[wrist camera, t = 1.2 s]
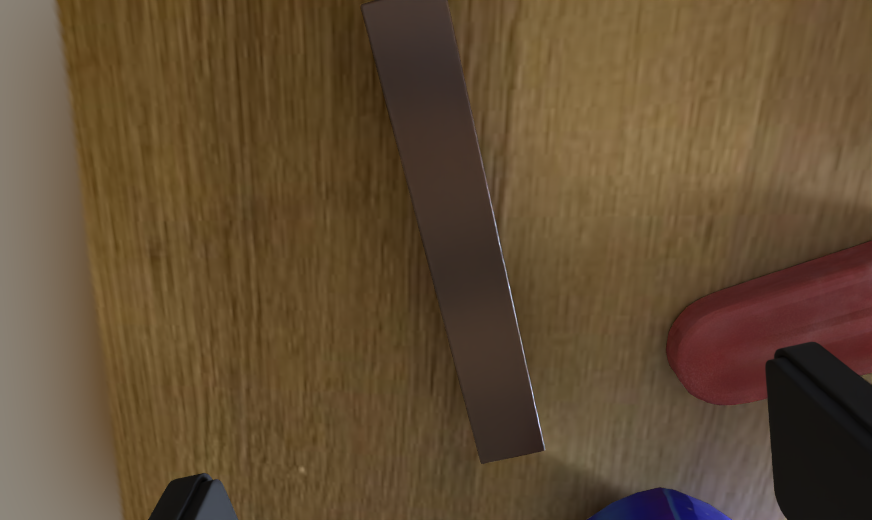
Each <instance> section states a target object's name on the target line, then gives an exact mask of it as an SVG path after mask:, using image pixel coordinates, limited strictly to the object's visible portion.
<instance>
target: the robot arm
mask: <svg viewBox="0 0 872 520" xmlns="http://www.w3.org/2000/svg"><path fill="white" fill-rule="evenodd" d="M765 373H766V386H767V399H768V413H769V426H770V439H771V452H772V466H773V479H774V491H775V496H776V499H777V502H778V505H779V507H780V509H781V511H782V513H783V514H784V516H785V517H786V518H787V520H872V385H871V384H869V383H868V382H867V381H866V380H864V379H863V378H862V377H861V376H859V375H858V374H857V373H856V372H854V371H853V370H852V369H850V368H849V367H848V366H847V365H845V364H844V363H843V362H842V361H840V360H839V359H838V358H837V357H835V356H834V355H833V354H831V353H830V352H829V351H828V350H826V349H825V348H824V347H823V346H821V345H820V344H818V343H817V342H807V343H802V344H798V345H793V346H788V347H784V348H779V349H777V350H776V351H775V354H774V359H771V360H768V361H767V362H766V365H765ZM148 520H238V518H237V516H236V513H235V511H234V509H233V506H232V504H231V502H230V499H229V497H228V495H227V492H226V490H225V488H224V486H223V484H222V482H221V481H220V480H218V479H215V480H212V478H211V477H210V476H209V475H208V474H206V473H202V474H197V475H193V476H188V477H183V478H179V479H175V480H172V481H171V482H170V483H169V484H168V486H167V487H166V489H165V491H164V493H163V494H162V496H161V498H160V500H159V501H158V503H157V505H156V507H155V508H154V510H153V512H152V514H151V516H150V517H149V519H148Z"/></svg>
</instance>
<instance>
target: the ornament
mask: <svg viewBox="0 0 872 520" xmlns="http://www.w3.org/2000/svg"><path fill="white" fill-rule="evenodd" d="M587 520H732V519H730V518H729V517H727V516H726V515H724V514H723V513H721V512H720V511H718V510H717V509H715V508H714V507H712V506H711V505H709V504H708V503H706V502H703V501H701V500H698V499H696V498H693V497H691V496H688V495H686V494H683V493H681V492H679V491H676V490H673V489H667V488H661V487H659V488H655V489H650V490H646V491H642V492H637V493H635V494H632V495H630V496H627V497H625V498H622V499H620V500H617V501H615V502H612V503H611V504H609V505H608V506H606V507H605V508H603V509H602V510H600V511H599V512H597V513H596V514H594V515H593V516H591V517H590V518H588V519H587Z"/></svg>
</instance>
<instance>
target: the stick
mask: <svg viewBox="0 0 872 520" xmlns="http://www.w3.org/2000/svg"><path fill="white" fill-rule="evenodd" d="M361 11H362V15H363V18H364V22H365V26H366V30H367V34H368V37H369V41H370V45H371V49H372V53H373V56H374V60H375V64H376V68H377V72H378V75H379V79H380V83H381V87H382V91H383V94H384V98H385V102H386V106H387V109H388V113H389V117H390V121H391V125H392V128H393V132H394V136H395V140H396V144H397V147H398V151H399V155H400V159H401V163H402V166H403V170H404V174H405V178H406V182H407V185H408V189H409V193H410V197H411V201H412V204H413V208H414V212H415V216H416V220H417V223H418V227H419V231H420V235H421V238H422V242H423V246H424V250H425V254H426V257H427V261H428V265H429V269H430V273H431V276H432V280H433V284H434V288H435V292H436V295H437V299H438V303H439V307H440V311H441V314H442V318H443V322H444V326H445V330H446V333H447V337H448V341H449V345H450V348H451V352H452V356H453V360H454V364H455V367H456V371H457V375H458V379H459V383H460V386H461V390H462V394H463V398H464V402H465V405H466V409H467V413H468V417H469V421H470V424H471V428H472V432H473V436H474V440H475V443H476V447H477V451H478V455H479V459H480V462H481V464H484V463H489V462H494V461H499V460H503V459H508V458H513V457H518V456H522V455H527V454H532V453H537V452H541V451H545V445H544V440H543V436H542V431H541V427H540V422H539V418H538V413H537V408H536V404H535V399H534V395H533V390H532V385H531V381H530V376H529V372H528V367H527V363H526V358H525V353H524V349H523V344H522V340H521V335H520V330H519V326H518V321H517V317H516V312H515V308H514V303H513V298H512V294H511V289H510V285H509V280H508V275H507V271H506V266H505V262H504V257H503V253H502V248H501V243H500V239H499V234H498V230H497V225H496V220H495V216H494V211H493V207H492V202H491V197H490V193H489V188H488V184H487V179H486V175H485V170H484V165H483V161H482V156H481V152H480V147H479V142H478V138H477V133H476V129H475V124H474V120H473V115H472V110H471V106H470V101H469V97H468V92H467V87H466V83H465V78H464V74H463V69H462V65H461V60H460V55H459V51H458V46H457V42H456V37H455V32H454V28H453V23H452V19H451V14H450V10H449V5H448V0H375V1H371V2H367V3H363V4H361Z"/></svg>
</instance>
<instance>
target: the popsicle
mask: <svg viewBox="0 0 872 520" xmlns="http://www.w3.org/2000/svg"><path fill="white" fill-rule="evenodd" d="M807 342H817V343H818V344H820V345H821V346H823V347H824V348H825V349H826V350H828V351H829V352H830V353H831V354H833V355H834V356H835V357H837V358H838V359H839V360H840V361H842V362H843V363H844V364H845V365H847V366H848V367H849V368H850V369H852V370H853V371H854V372H856V373H857V374H858V375H859V376H860V375H864V374H868V373H872V241H869V242H866V243H864V244H860V245H857V246H854V247H851V248H848V249H845V250H842V251H839V252H836V253H833V254H830V255H827V256H824V257H821V258H817V259H814V260H811V261H808V262H805V263H802V264H799V265H796V266H793V267H790V268H787V269H784V270H781V271H778V272H775V273H772V274H769V275H766V276H762V277H759V278H756V279H753V280H750V281H747V282H744V283H741V284H738V285H735V286H732V287H729V288H726V289H723V290H720V291H717V292H714V293H712V294H710V295H707V296H705V297H703V298H701V299H699V300H697V301H695V302H694V303H692V304H691V305H689V306H688V307H687V308H686V309H685V310H684V311H683V312H682V313H681V314H680V315H679V316H678V318H677V319H676V320H675V322H674V323H673V325H672V327H671V329H670V331H669V334H668V340H667V346H666V353H667V358H668V362H669V365H670V367H671V368H672V370H673V371H674V372H675V374H676V375H677V377H678V379H679V380H680V382H681V383H682V384H683V385H684V387H685V388H686V389H687V391H688V392H689V393H690V394H692V395H693V396H695V397H696V398H698V399H700V400H703V401H705V402H707V403H711V404H716V405H737V404H744V403H750V402H754V401H758V400H762V399H767V386H766V373H765V365H766V362H767V361H768V360H771V359H774V354H775V351H776V350H777V349H779V348H784V347H788V346H793V345H798V344H802V343H807Z"/></svg>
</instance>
